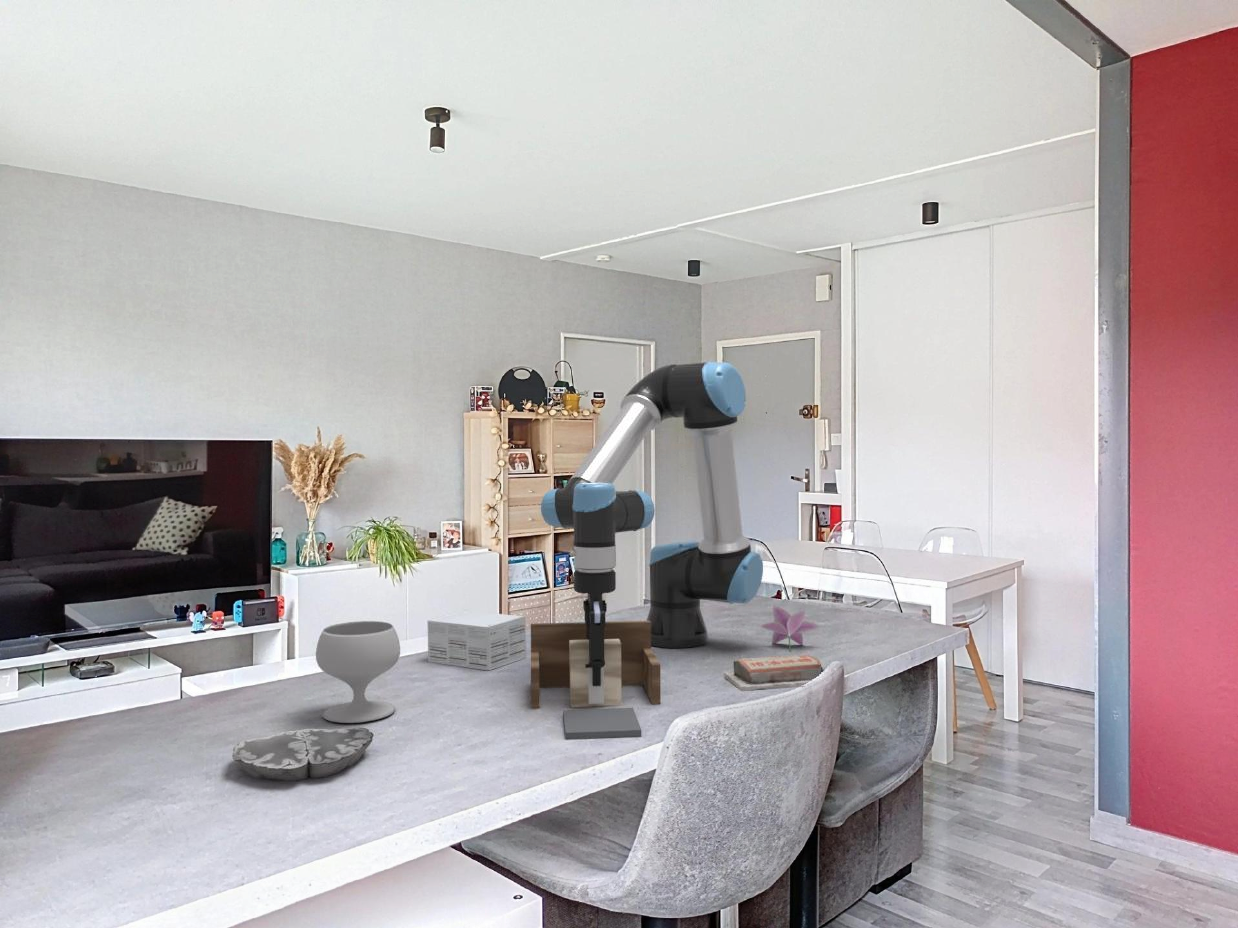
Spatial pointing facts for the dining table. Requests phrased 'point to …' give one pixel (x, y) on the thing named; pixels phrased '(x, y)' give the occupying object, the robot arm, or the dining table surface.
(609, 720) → the charcoal mat
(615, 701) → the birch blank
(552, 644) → the walnut cubby
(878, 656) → the dining table surface
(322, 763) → the brain slice
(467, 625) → the supplement box
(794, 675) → the packaged product
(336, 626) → the chalice
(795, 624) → the lily
